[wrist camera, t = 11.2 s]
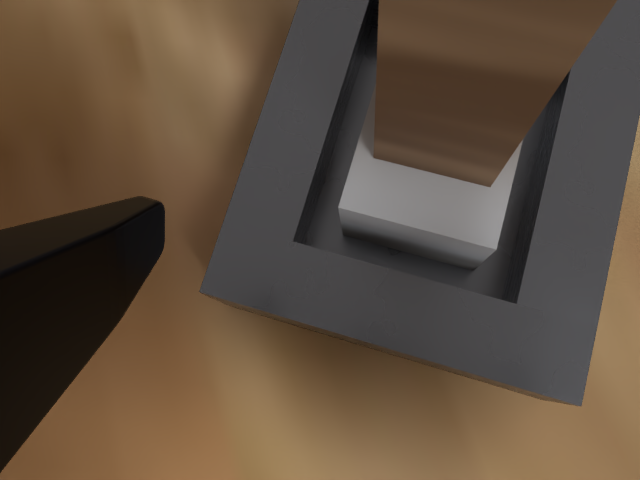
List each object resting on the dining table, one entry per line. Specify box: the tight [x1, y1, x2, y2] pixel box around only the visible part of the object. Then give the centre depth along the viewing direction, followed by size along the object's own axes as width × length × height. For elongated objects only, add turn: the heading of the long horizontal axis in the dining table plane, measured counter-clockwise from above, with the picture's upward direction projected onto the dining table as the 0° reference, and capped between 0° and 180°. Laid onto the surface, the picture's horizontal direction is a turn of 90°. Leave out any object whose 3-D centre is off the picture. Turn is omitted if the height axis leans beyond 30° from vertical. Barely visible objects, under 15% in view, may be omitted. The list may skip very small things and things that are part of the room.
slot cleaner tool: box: [338, 0, 617, 271], centre depth 11 cm, size 6×4×14 cm, turn 163°
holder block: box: [199, 0, 640, 406], centre depth 17 cm, size 12×10×3 cm
